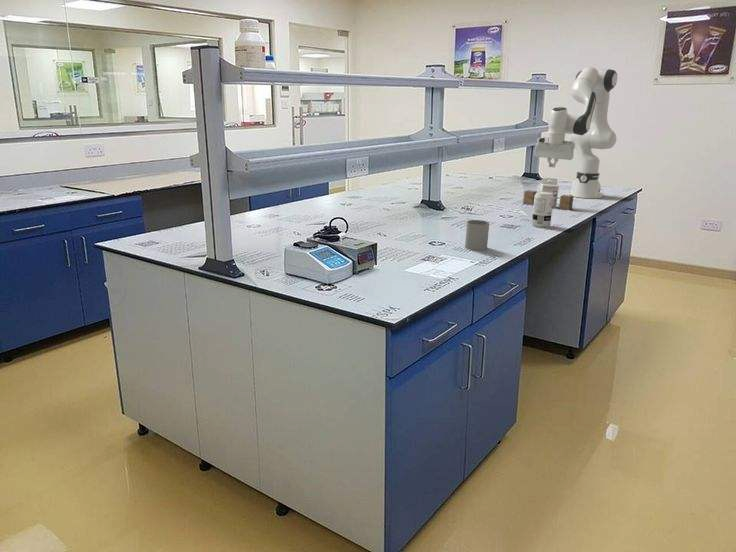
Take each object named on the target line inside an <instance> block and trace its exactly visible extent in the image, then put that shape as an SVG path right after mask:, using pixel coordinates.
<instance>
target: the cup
mask: <svg viewBox="0 0 736 552" xmlns="http://www.w3.org/2000/svg"><path fill="white" fill-rule="evenodd" d="M465 228H466V230H465V239H464V240H465V241H464V249H466V250H470V251H474V252H475V251H476V252H478V251H479V252H483V251H486V250H487V249H488V242H489V232H490V222H489V221H486V220H481V219H480V220H479V219H470V220H467V221H466V227H465Z"/></svg>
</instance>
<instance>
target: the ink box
mask: <svg viewBox="0 0 736 552" xmlns="http://www.w3.org/2000/svg"><path fill="white" fill-rule="evenodd" d="M540 183H541V184H540V189H539V192H550V193H553V196H554V200H553V207H552V208H557V203H558V194H559V185H558V178H551V177H550V178H549V177H546V178H545V177H542V178H541V182H540Z"/></svg>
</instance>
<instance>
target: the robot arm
mask: <svg viewBox="0 0 736 552" xmlns="http://www.w3.org/2000/svg"><path fill="white" fill-rule="evenodd" d="M617 82H618V72H617V71H616V70H614V69H610V68H609V69H607V68H595V67H593V66H587V67H585V68H583V69H582V70H579V71H578V72H577V74H576V75H575V79H574V82H573V84H572V87H571V89H570V91H571V92H570V93H571V97H572V98H573V99H574V100H575V101H576V102H578V103H581V104H583V105H584V108H583V111H582V113H580V114H568V108H567V107H563V106H559V107H553V108H552V109H551V111H550V114H549V118H548V123H547V124H548V125H547V126H548V129H547V133H546V135H545V136H543V137H539V138H537V139H536V142H537V143H536V144H535V146H534V151H533V156H534V157H536V158H547V162H548V167H549V168H555V167H556V165H557V163H558V162H559V160H567V161H572V160H573V158H574V155H575V154H574V152H575V151H574V150H576V152H577V154H578V169H577V172H576V179H574V180H573V181H572V186H571V191H570V192H568V195H569V196H574V197H576V198H582V199H601V198H602V197H603V196H604V193H602V192H601V188H602V187H601V183H600V182H599V177H600V174H601V173H600V172H599V168H600V167H599V166H600V161H601V160H600V159H599V157H598V156H597V155H595V154H594V153H593V151H592V150H593V149H595V150H608V149H612V148H613V147H614V146H615V144H616V143H617V134H616V132H615V131H613V129H612V128H611V127H610V125H609V122H608V112H609V104H610V93H611V91H612V90H613V89H614V88H615V86H616V85H617ZM591 123H592V124H593V127H594V128H591ZM566 134H569V135H570V136H569V140H565V138H566ZM552 159H553V161H554V162H553V163H552V162H551V161H552Z"/></svg>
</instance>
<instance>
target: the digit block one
mask: <svg viewBox="0 0 736 552" xmlns="http://www.w3.org/2000/svg"><path fill="white" fill-rule="evenodd" d="M574 197H575V196H572V195H569V194H567V195H566V194H563V195H560V199H559V205H558V210H560V209H561V210H563V211H567V210H569V211H572V209H573V203H574Z"/></svg>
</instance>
